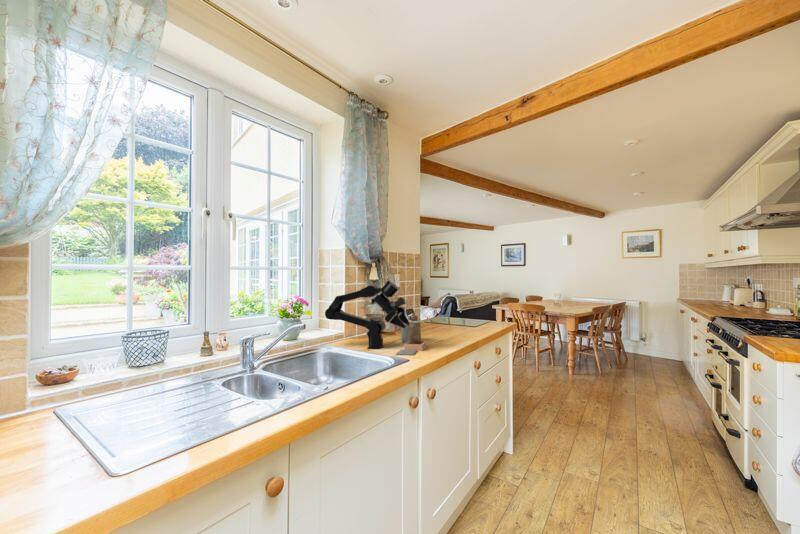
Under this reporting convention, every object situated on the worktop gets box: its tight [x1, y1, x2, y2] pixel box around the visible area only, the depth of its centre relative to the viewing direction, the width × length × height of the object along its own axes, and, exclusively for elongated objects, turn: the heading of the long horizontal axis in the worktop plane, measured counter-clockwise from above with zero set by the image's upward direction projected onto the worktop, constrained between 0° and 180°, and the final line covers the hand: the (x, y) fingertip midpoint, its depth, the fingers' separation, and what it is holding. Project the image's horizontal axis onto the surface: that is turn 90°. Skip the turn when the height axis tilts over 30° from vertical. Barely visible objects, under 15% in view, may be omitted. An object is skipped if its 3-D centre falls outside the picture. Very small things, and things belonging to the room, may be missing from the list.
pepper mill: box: [408, 315, 422, 344], centre depth 166 cm, size 6×6×16 cm
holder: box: [403, 340, 428, 352], centre depth 166 cm, size 9×9×3 cm
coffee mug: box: [400, 323, 410, 345], centre depth 184 cm, size 13×10×10 cm
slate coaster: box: [396, 349, 418, 356], centre depth 157 cm, size 8×8×1 cm
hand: (407, 325), depth 167 cm, fingers open, 9 cm apart
